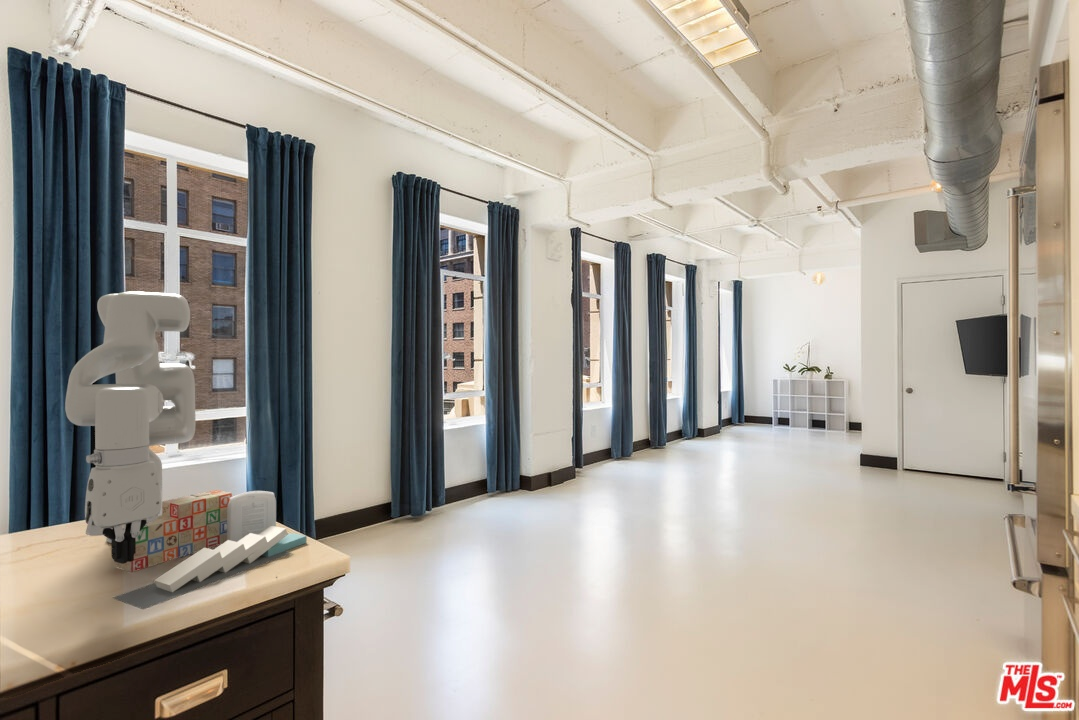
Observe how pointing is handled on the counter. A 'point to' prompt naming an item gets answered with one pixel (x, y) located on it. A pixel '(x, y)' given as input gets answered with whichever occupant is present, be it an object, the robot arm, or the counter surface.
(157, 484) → the robot arm
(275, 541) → the domino
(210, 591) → the counter surface
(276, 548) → the domino
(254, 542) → the domino
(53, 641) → the counter surface
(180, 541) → the stack of blocks
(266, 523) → the white rounded slab
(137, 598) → the domino mat
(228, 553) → the domino
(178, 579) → the domino
